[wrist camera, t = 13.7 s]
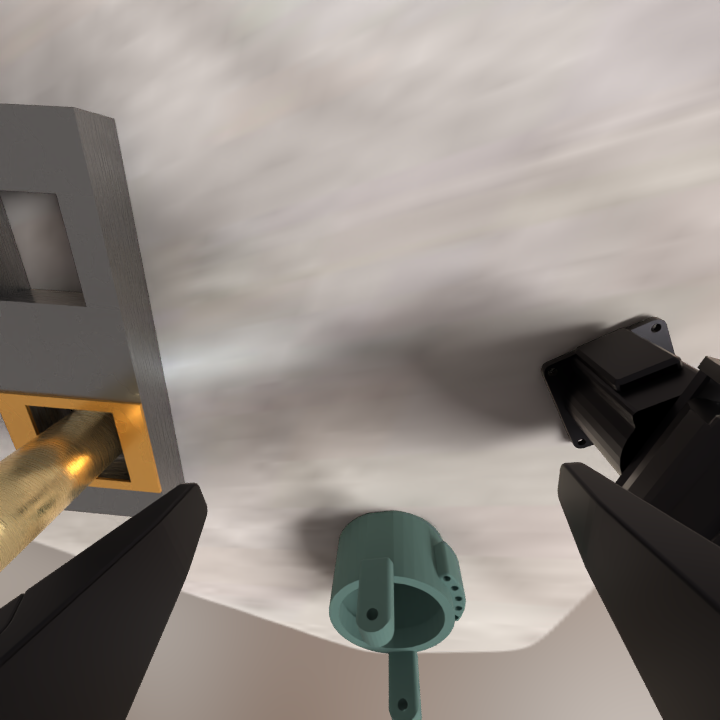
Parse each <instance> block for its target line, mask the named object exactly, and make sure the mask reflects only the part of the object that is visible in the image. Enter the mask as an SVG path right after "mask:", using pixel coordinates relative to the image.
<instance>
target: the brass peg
mask: <svg viewBox="0 0 720 720" xmlns="http://www.w3.org/2000/svg"><path fill="white" fill-rule="evenodd" d="M122 452H123V450H122V446H121V443H120V439H119V435H118V432H117V428H116V424H115V421H114V417H113V413H111V412H99V411H88V410H76V409H75V410H74V411H72V412H71V413H69V414H68V415H67V416H65V417H64V418H62V419H61V420H59V421H58V422H56V423H55V424H54V425H52V426H51V427H49V428H48V429H46V430H45V431H43V432H42V433H41V434H39V435H38V436H36V437H35V438H33V439H32V440H30V441H29V442H28V443H26V444H25V445H23V446H22V447H20V448H19V449H17V450H16V451H15V452H13V453H12V454H10V455H9V456H7V457H6V458H4V459H3V460H2V461H0V572H1V571H2V570H3V569H4V568H5V567H6V566H7V565H8V564H9V563H10V562H11V561H12V560H13V559H14V558H15V557H16V556H17V555H18V554H19V553H20V552H21V551H22V550H23V549H24V548H25V547H26V546H27V545H28V544H29V543H30V542H31V541H33V540H34V539H35V538H36V537H37V536H38V535H39V534H40V533H41V532H42V531H43V530H44V529H45V528H46V527H47V526H48V525H49V524H50V523H51V522H52V521H53V520H54V519H55V518H56V517H57V516H58V515H59V514H60V513H61V512H62V511H63V510H64V509H65V508H66V507H67V506H68V505H69V504H70V503H71V502H72V501H73V500H74V499H75V498H76V497H77V496H78V495H79V494H80V493H81V492H82V491H83V490H84V489H86V488H87V487H88V486H89V485H90V484H91V483H92V482H93V481H94V480H95V479H96V478H97V477H98V476H99V475H100V474H101V473H102V472H103V471H104V470H105V469H106V468H107V467H108V466H109V465H110V464H111V463H112V462H113V461H114V460H115V459H116V458H117V457H118V456H119V455H120V454H121V453H122Z"/></svg>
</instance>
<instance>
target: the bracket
mask: <svg viewBox="0 0 720 720" xmlns="http://www.w3.org/2000/svg"><path fill="white" fill-rule="evenodd" d="M465 603H466V599H465V593H464V588H463V583H462V578H461V573H460V567H459V562H458V559H457V557H456V555H455V553H454V551H453V550H452V548H451V547H450V546H449V545H448V544H447V543H446V542H444V541H443V540H442V538H441V536H440V534H439V533H438V531H437V530H436V529H435V528H434V527H433V526H432V525H431V524H430V523H429V522H427V521H425V520H424V519H422V518H420V517H418V516H415V515H413V514H410V513H406V512H401V511H384V512H375V513H367V514H365V515H362V516H360V517H358V518H356V519H355V520H353V521H352V522H350V523H349V524H348V525H347V526H346V527H345V529H344V530H343V531H342V533H341V536H340V538H339V544H338V551H337V558H336V565H335V572H334V578H333V585H332V592H331V599H330V606H329V616H330V620H331V622H332V624H333V626H334V628H335V629H336V630H337V631H338V633H339V634H341V635H342V636H343V637H344V638H345V639H347V640H348V641H350V642H351V643H353V644H355V645H357V646H360V647H362V648H365V649H368V650H371V651H376V652H381V653H388V654H389V712H390V715H391V717H392V720H421V718H422V716H421V701H420V686H419V671H418V656H417V652H418V651H422V650H426V649H428V648H431V647H433V646H435V645H437V644H438V643H440V642H441V641H443V640H444V639H445V638H446V637H447V636H448V635H449V634H450V632H451V631H452V629H453V627H454V623H455V621H458V620H459V619H460V617H461V616H462V614H463V611H464V609H465Z"/></svg>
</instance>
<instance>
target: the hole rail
mask: <svg viewBox="0 0 720 720" xmlns="http://www.w3.org/2000/svg"><path fill="white" fill-rule="evenodd" d="M0 190H5V191H21V192H38V193H54V194H56V195H57V199H58V202H59V206H60V210H61V214H62V217H63V221H64V225H65V228H66V232H67V236H68V240H69V243H70V247H71V251H72V254H73V258H74V262H75V265H76V269H77V273H78V277H79V280H80V284H81V288H82V291H83V292H69V291H55V290H41V289H31V288H30V285H29V282H28V279H27V276H26V273H25V270H24V267H23V264H22V261H21V258H20V255H19V252H18V249H17V246H16V243H15V240H14V237H13V234H12V231H11V228H10V225H9V222H8V219H7V215H6V212H5V209H4V206H3V203H2V200H1V197H0V413H1V415H2V418H3V420H4V422H5V425H6V427H7V429H8V432H9V434H10V436H11V439H12V441H13V443H14V446H15V448H16V450H17V449H19V448H20V447H22V446H23V445H25V444H26V443H28V442H29V441H30V440H32V439H33V438H35V437H36V436H38V435H39V434H41V433H42V432H43V431H45V430H46V429H48V428H49V427H51V426H52V425H54V424H55V423H56V422H58V421H59V420H61V419H62V418H64V417H65V416H67V415H68V414H69V413H71V410H70V409H76V410H88V411H99V412H111V413H113V417H114V421H115V424H116V428H117V432H118V435H119V439H120V443H121V446H122V450H123V453H121V454H120V455H119V456H118V457H117V458H116V459H115V460H114V461H113V462H112V463H111V464H110V465H109V466H108V467H107V468H106V469H105V470H104V471H103V472H102V473H101V474H100V475H99V476H98V477H97V478H96V479H95V480H94V481H93V482H92V483H91V484H90V485H89V486H88V487H87V488H86V489H84V490H83V491H82V492H81V493H80V494H79V495H78V496H77V497H76V498H75V499H74V500H73V501H72V502H71V503H70V504H69V505H68V506H67V507H66V508H65V509H64V510H68V511H78V512H89V513H99V514H109V515H120V516H130V517H133V516H134V515H136V514H137V513H139V512H140V511H142V510H143V509H145V508H146V507H147V506H149V505H150V504H152V503H153V502H155V501H156V500H158V499H159V498H160V497H162V496H163V495H165V494H166V493H168V492H169V491H171V490H172V489H173V488H175V487H176V486H178V485H179V484H182V483H185V482H184V477H183V472H182V467H181V461H180V456H179V451H178V446H177V441H176V436H175V430H174V425H173V420H172V415H171V410H170V405H169V399H168V394H167V389H166V384H165V379H164V374H163V368H162V363H161V358H160V353H159V348H158V343H157V337H156V332H155V327H154V322H153V317H152V312H151V306H150V301H149V296H148V291H147V286H146V281H145V275H144V270H143V265H142V260H141V255H140V250H139V244H138V239H137V234H136V229H135V224H134V219H133V213H132V208H131V203H130V198H129V193H128V188H127V182H126V177H125V172H124V167H123V162H122V157H121V151H120V146H119V141H118V136H117V131H116V125H115V120H114V119H113V118H109V117H106V116H102V115H99V114H95V113H92V112H88V111H85V110H81V109H78V108H74V107H59V106H39V105H19V104H0Z"/></svg>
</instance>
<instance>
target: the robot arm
mask: <svg viewBox="0 0 720 720" xmlns="http://www.w3.org/2000/svg"><path fill="white" fill-rule="evenodd" d="M655 324H656V327H655V328H654V329H653V330H651V328H652V326H653V325H655ZM552 368H555V369H554V371H553V372H552V373H548V371H549V370H550V369H552ZM698 368H699V369H700V370H697V369H695V368H693V367H692V366H690V365H688V364H686V363H685V362H683V361H681V359H680V357H678V356H676V355H675V353H674V350H673V346H672V342H671V339H670V335H669V331H668V328H667V324H666V322H665V321H664V320H662V319H660V318H657V317H651V318H648V319H646V320H643V321H641V322H639V323H636V324H634V325H632V326H629V327H627V328H621V329H619V330H616V331H614V332H612V333H609V334H607V335H605V336H603V337H600V338H598V339H596V340H593V341H591V342H589V343H586V344H584V345H582V346H580V347H578V348H577V349H576V350H574V351H572V352H570V353H567V354H565V355H563V356H560V357H558V358H556V359H553V360H551V361H549V362H547V363H545V364H544V365H543V366H542V368H541V373H542V375H543V378H544V380H545V382H546V385H547V387H548V389H549V392H550V394H551V396H552V398H553V401H554V403H555V405H556V408H557V410H558V412H559V415H560V417H561V419H562V422H563V424H564V426H565V429H566V431H567V433H568V436H569V438H570V440H571V442H572V443H573V445H574V446H575V447H576V448H585V447H588V446H591V445H595V446H596V447H597V449H598V450H599V451H600V452H601V453H602V455H603V456H604V457H605V458H606V459H607V461H608V462H609V463H610V464H611V465H612V467H613V468H614V469H615V470H616V471H617V473H618V474H619V475H620V477H619V479H618V480H617V481H616V483H614V482H613V481H611V480H610V479H608V478H606V477H605V476H603V475H601V474H600V473H598V472H597V471H595V470H593V469H592V468H590V467H588V466H587V465H585V464H583V463H580V462H574V463H564V464H562V465H561V468H560V475H559V483H558V497H559V501H560V503H561V506H562V509H563V511H564V514H565V516H566V519H567V522H568V524H569V527H570V529H571V532H572V534H573V537H574V540H575V542H576V545H577V547H578V550H579V553H580V555H581V558H582V560H583V562H584V565H585V567H586V569H587V571H588V573H589V575H590V577H591V579H592V581H593V583H594V585H595V587H596V589H597V591H598V593H599V595H600V597H601V599H602V601H603V603H604V605H605V607H606V609H607V611H608V613H609V615H610V617H611V619H612V621H613V622H614V624H615V626H616V628H617V630H618V632H619V634H620V636H621V638H622V640H623V642H624V644H625V646H626V648H627V650H628V652H629V654H630V656H631V658H632V660H633V662H634V664H635V666H636V668H637V669H638V671H639V673H640V675H641V677H642V679H643V681H644V683H645V685H646V687H647V689H648V691H649V693H650V695H651V697H652V699H653V701H654V703H655V705H656V707H657V709H658V711H659V712H660V715H661V716H662V718H663V720H720V360H719V359H716V358H712V357H708V356H706V357H705V358H704V359H703V361H702V362H701V363H700V365H699V366H698ZM580 439H582V440H581V441H578V440H580ZM206 516H207V504H206V502H205V499H204V497H203V494H202V492H201V489H200V487H199V485H198V484H197V483H182V484H179V485H178V486H176V487H175V488H173V489H172V490H171V491H169V492H168V493H166V494H165V495H163V496H162V497H160V498H159V499H158V500H156V501H155V502H153V503H152V504H150V505H149V506H147V507H146V508H145V509H143V510H142V511H140V512H139V513H137V514H136V515H134V516H133V517H132V518H130V519H129V520H127V521H126V522H124V523H123V524H122V525H120V526H119V527H117V528H116V529H114V530H113V531H111V532H110V533H109V534H107V535H106V536H104V537H103V538H101V539H100V540H98V541H97V542H96V543H94V544H93V545H91V546H90V547H88V548H87V549H85V550H84V551H83V552H81V553H80V554H78V555H77V556H75V557H74V558H73V559H71V560H70V561H68V562H67V563H65V564H64V565H62V566H61V567H60V568H58V569H57V570H55V571H54V572H52V573H51V574H49V575H48V576H47V577H45V578H44V579H42V580H41V581H39V582H38V583H37V584H35V585H34V586H32V587H31V588H29V589H28V590H27V591H26V592H25V594H20V595H19V596H18V597H16V598H15V599H13V600H12V601H10V602H9V603H8V604H6V605H5V606H3V607H2V608H0V720H126V717H127V715H128V713H129V710H130V708H131V706H132V703H133V701H134V699H135V696H136V694H137V692H138V689H139V687H140V685H141V682H142V680H143V677H144V675H145V673H146V670H147V668H148V666H149V664H150V661H151V659H152V657H153V654H154V652H155V650H156V647H157V645H158V642H159V640H160V638H161V636H162V633H163V631H164V629H165V626H166V624H167V622H168V619H169V617H170V614H171V612H172V610H173V608H174V605H175V602H176V601H177V598H178V596H179V594H180V591H181V589H182V587H183V584H184V582H185V579H186V577H187V574H188V571H189V569H190V566H191V563H192V560H193V557H194V554H195V551H196V547H197V544H198V541H199V538H200V535H201V532H202V529H203V526H204V523H205V520H206Z"/></svg>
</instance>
